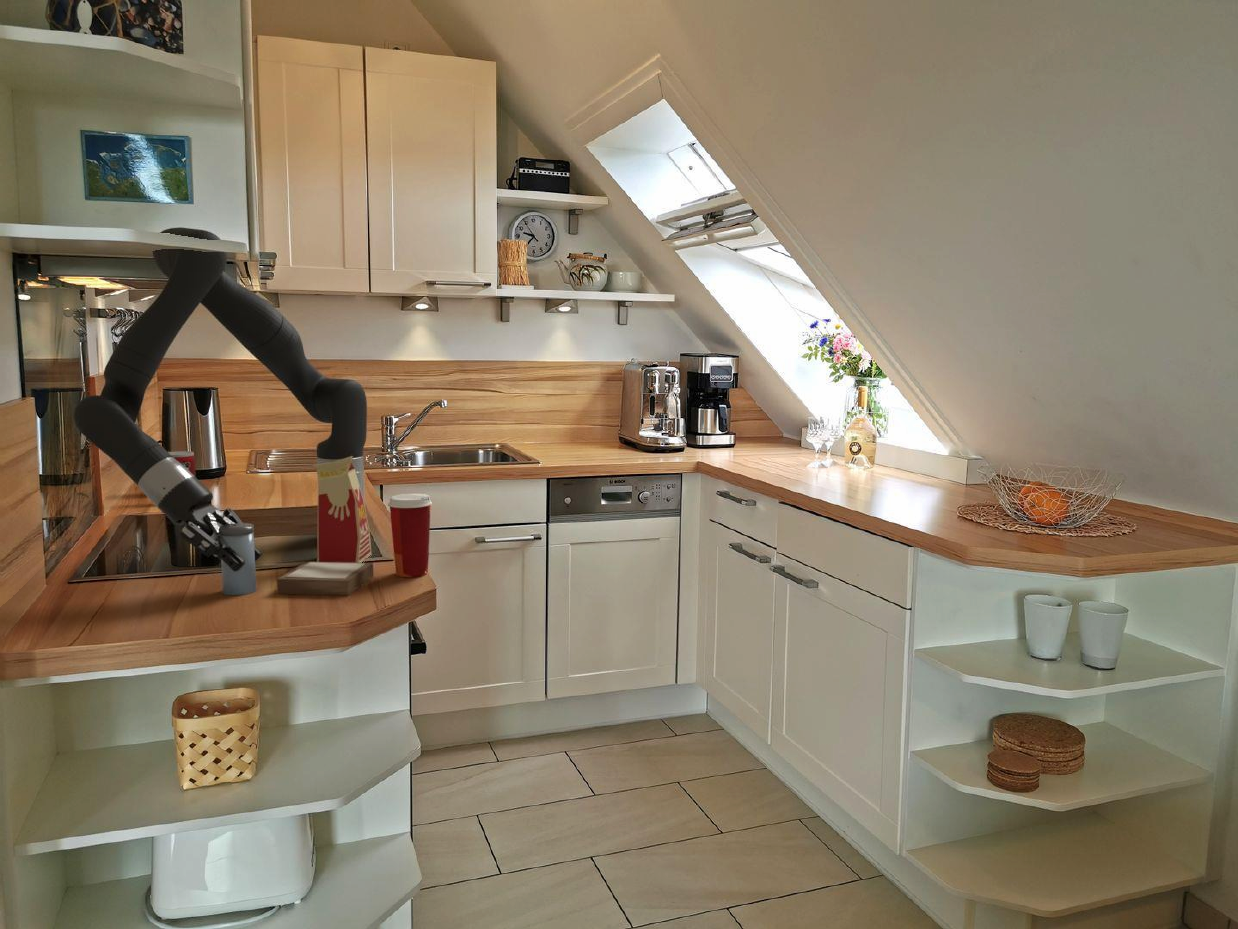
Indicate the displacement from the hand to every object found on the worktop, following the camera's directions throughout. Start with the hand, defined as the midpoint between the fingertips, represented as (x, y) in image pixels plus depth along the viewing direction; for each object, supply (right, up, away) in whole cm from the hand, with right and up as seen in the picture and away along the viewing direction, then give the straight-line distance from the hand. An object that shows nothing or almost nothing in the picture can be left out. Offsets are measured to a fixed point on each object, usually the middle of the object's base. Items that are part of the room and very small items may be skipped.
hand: (248, 563), depth 156 cm
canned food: (-55, +8, +94) cm, 109 cm away
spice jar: (-2, -5, +1) cm, 5 cm away
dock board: (+12, -4, +5) cm, 13 cm away
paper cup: (+24, -3, +13) cm, 28 cm away
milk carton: (+9, -2, +22) cm, 24 cm away
